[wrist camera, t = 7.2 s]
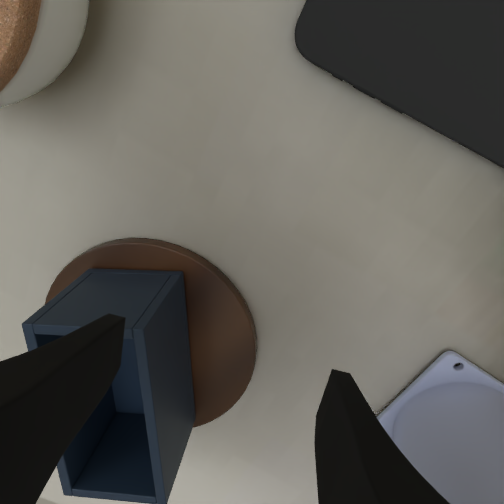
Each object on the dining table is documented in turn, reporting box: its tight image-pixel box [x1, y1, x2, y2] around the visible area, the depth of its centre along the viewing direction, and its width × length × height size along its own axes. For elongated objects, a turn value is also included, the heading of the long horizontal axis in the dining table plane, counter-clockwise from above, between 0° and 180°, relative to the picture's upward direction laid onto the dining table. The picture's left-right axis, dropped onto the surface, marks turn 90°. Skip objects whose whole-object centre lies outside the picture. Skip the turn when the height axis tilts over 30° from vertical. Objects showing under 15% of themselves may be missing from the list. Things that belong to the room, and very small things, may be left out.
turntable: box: [45, 238, 257, 428], centre depth 25 cm, size 13×13×1 cm
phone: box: [295, 0, 504, 168], centre depth 18 cm, size 7×1×15 cm
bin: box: [22, 268, 196, 504], centre depth 22 cm, size 11×5×6 cm, turn 1°
